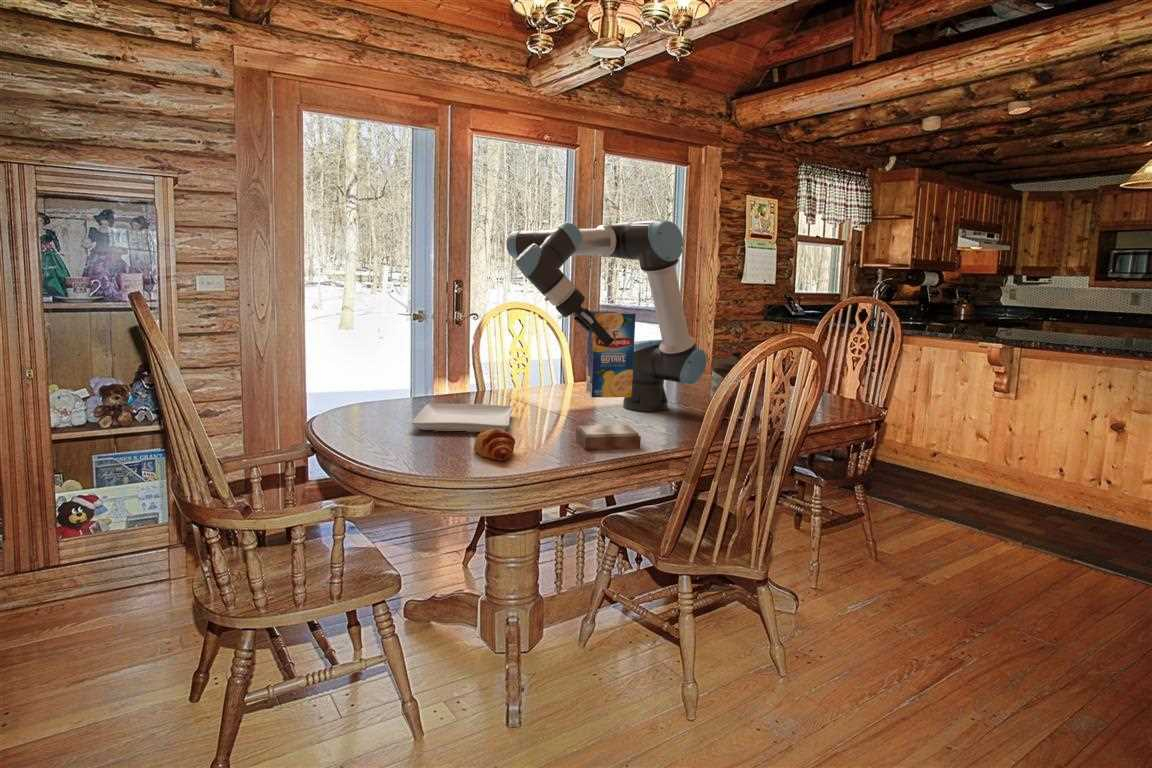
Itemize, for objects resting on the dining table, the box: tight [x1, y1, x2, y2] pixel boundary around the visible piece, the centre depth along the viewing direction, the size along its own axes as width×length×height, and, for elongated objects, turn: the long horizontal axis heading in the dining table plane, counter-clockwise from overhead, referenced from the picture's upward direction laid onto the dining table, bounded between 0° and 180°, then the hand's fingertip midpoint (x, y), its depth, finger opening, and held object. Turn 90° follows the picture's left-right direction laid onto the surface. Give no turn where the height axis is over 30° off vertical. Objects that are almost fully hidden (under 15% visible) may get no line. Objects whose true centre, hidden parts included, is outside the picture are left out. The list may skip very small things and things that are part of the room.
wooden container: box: [709, 348, 757, 418], centre depth 233 cm, size 15×15×22 cm
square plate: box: [411, 403, 514, 433], centre depth 212 cm, size 27×27×4 cm
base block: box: [575, 424, 642, 451], centre depth 193 cm, size 15×11×4 cm
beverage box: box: [585, 310, 637, 399], centre depth 189 cm, size 7×11×22 cm, turn 103°
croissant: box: [473, 429, 516, 462], centre depth 180 cm, size 21×10×8 cm, turn 21°
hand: (624, 361), depth 190 cm, fingers closed on beverage box, 2 cm apart
